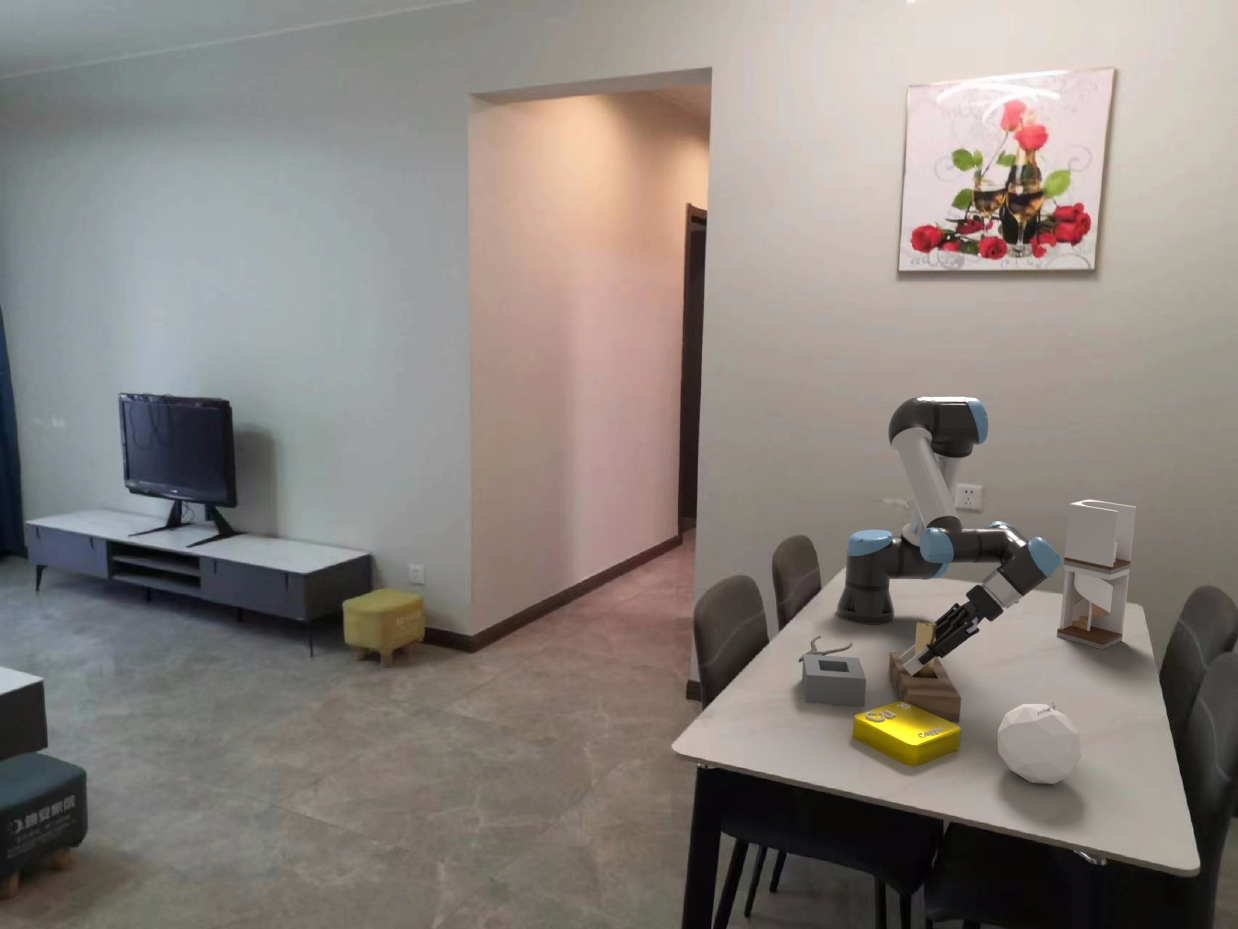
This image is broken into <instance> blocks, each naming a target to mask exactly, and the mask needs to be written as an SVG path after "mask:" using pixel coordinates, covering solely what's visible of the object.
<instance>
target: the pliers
mask: <svg viewBox="0 0 1238 929" xmlns="http://www.w3.org/2000/svg"><path fill="white" fill-rule="evenodd" d="M821 638H822V635H818V636H815V637H813V639H812V640H811V641H810V645H811V646H810V647H811V650H810V651H807V652H805V654H809V655H824V656H827V655H829V654H832V653H833V654H834V653H838V652H843V651H846V650H848V649H850V648H851V647H852V646H853V642H849V644H848V645H847V646H844V647H842V648H841V647H840V648H835V649H829V650H824V651H823V650H822V651H818V649H817V647H816V644H815V642H816V640H818V639H821ZM798 661H799V662H803V654H802V655H801V656H800V657H799V659H798Z"/></svg>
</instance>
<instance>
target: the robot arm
mask: <svg viewBox="0 0 1238 929" xmlns="http://www.w3.org/2000/svg"><path fill="white" fill-rule="evenodd" d="M887 432H888V433H887V434H888V441H889V444H890V447H891V450H892V451H893V453H894V454H896V455H898V457H899V459H900V462H901V465H902V467H903V470H904V473H905V476H906V479H907V482H908V485H909V487H910V490H911V493H912V495H913V499H914V501H915V502H914V506H913V510H912V514H911V516H910V517H911V518H910V521H909V523H907V524H904V526H903V527H902V528H901V534H900V535H899V536H898V535H894V534H893V533H892V532H891V531H889V530H885V529H867V530H866V529H865V530H859V531H856V532H854V533H852V534H850V536H849V537H848V538H847V539H848V540H847V546H846V547H847V548H846V551H845V553H846V561H845V562H846V563H845V579H844V580H845V581H844V582H845V583H844V588H843V591H842V593H841V596H840V598H839V599H838V603H837V605H836V614H837V616H838V617H840V618H842V619H844V620H847V621H850V622H854V623H859V624H866V625H881V624H888V623H890V622H893V620H894V619H895V608H894V604H893V600H892V596H891V593H890V582H891V580H923V581H924V580H925V581H927V580H933V579H940V578H942V577H943V576H944V575H945V574H946V573H947V571H948V570H949V567H950V564H957V563H959V564H964V563H966V564H967V563H968V564H969V563H971V564H972V563H973V564H1000V565H999V566H998V567H997V568H995V569H994V570H993V571H991V572H989V574H988V575H986V576H985V577H984V578H983V579H981V584H975V586H973V587H972V588H971V589H970V590H968V591H967V592H966V594H965V596H966V598H967V600H968V601H967V602H966V603H963V604H962V605H960V604H959V603H958V602H956V603H954V604H953V605H952V606H951V607H950V609H948V610H947V611H946V612H945V613H944V614H942V615H941V616H940V617H939V618H938V619H936V620H935V621H934V622H933V623H935V624H937V629H936V641H935V642H934V643H933V644H932V645H931V646H930V645H929V644H927V645H926V647H925V648H924V649H922V650H921V651H920V652H919V653H917V654H916V655H915V644H913V645H912V646H911V647H909V648H908V649H907V650H906V651H905V652H904V653H903V654H902V655H901V656H900V657H899V659H900V660H901V661H902V662H903V663H904V665H903V667H904V668H905V669H906V670H907V671H908V672H909V673H910V674H911V676H912V675H914V674H915V673H916V672H917V671H919V670H920V669H921V668H922V667H924V666H925V665H926V664H927V663H929V662H930V661H931V660H933V659H934V658H935V657H937V658H940V659H943V658H944V657H946V656H947V655H949V654H950V653H951V652H953V651H954V650H956V648H958V647H960V645H962V644H963V643H965V641H967V640H969V639H970V638H972V636H974V635H976V634H978V633H979V632H980V630H981V629H980V628H979V627H978V625H979V624H980V623H981V622H982V620H983V619H986V620H987V621H988V622H993V621H995V620H996V619H997V618H999V617H1000V616H1001V615H1002V614H1003V613H1004V611H1005V610H1003V609H1004V608H1005V609H1007V610H1008V609H1009V608H1010V607H1012V606H1013V605H1014V604H1018V603H1020V599H1022V598H1023V597H1024V596H1026V595H1027V594H1028V593H1030V592H1031V591H1032V590H1034V589H1035V588H1037V586H1039V585H1040V584H1041V583H1043V582H1044V581H1045V580H1047V579H1048V578H1049V577H1052V575H1053V574H1054V573H1055V572H1056V571H1058V569H1060V567H1061V566H1062V565H1063V564H1064V559H1063V558H1062V556H1061V555H1060V554H1059V553H1058V552H1057V551H1056V550H1055V549H1054V548H1053V547H1052V545H1051V544H1049V543H1048V542H1047V541H1046V539H1044V538H1042V537H1040V536H1036V537H1034V538H1032V539H1030V540H1028V539H1027V538H1026V537H1025V536H1024V535H1022V533H1020V532H1019V531H1018V529H1016V528H1015V527H1013V526H1012V525H1010V524H1009V523H1007V522H1005V521H1000V520H999V521H998V520H997V521H993V522H990V523H988V524H986V525H985V526H984V527H979V528H978V527H973V528H972V527H966V528H965V527H963V524H962V522H961V521H960V518H959V515H958V512H957V509H956V506H955V505H954V503H953V497H954V493H955V489H956V486H957V482H958V479H959V475H960V472H961V469H962V464H963V460H964V459H967V458H969V457H970V456H971V455H972V453H973V449H974V446H975V445H976V446H978V445H981V444H983V443H985V442H986V440H987V439H988V434H989V418H988V414H987V409H986V407H985V406H984V404H983V402H982V401H981V400H980V399H978V398H975V397H965V396H962V395H961V396H925V395H924V396H923V395H922V396H914V397H912V398H910V399H907V400H905V401H903V402H902V403H901V404H900V405H899V406H898V407H897V408H896V410H894V412H893V414H892V416H891V419H890V421H889V425H888V431H887ZM893 535H894V536H893Z"/></svg>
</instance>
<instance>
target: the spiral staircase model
mask: <svg viewBox="0 0 1238 929" xmlns="http://www.w3.org/2000/svg"><path fill="white" fill-rule="evenodd" d="M1136 513H1137V506H1134V505H1126V504H1121V503H1120V504H1119V503H1115V502H1107V501H1101V500H1097V499H1086V500H1084V499H1083V500H1081V501H1075V502H1072V503H1069V508H1068V518H1067V528H1066V538H1065V546H1064V547H1065V549H1064V556H1063V557H1064V558H1063V568H1062V570H1063V571H1064V580H1063V589H1062V591H1063V592H1062V603H1061V609H1060V610H1061V612H1060V624H1059V628H1057V631H1056V637H1058V638H1060V637H1062V638H1061V639H1063V640H1067V641H1071V640H1072V642H1074V641H1075V642H1076V643H1078V644H1081V643H1084V644H1083V645H1085V644H1086V646H1089V647H1093V648H1095V647H1097V649H1099V648H1100V650H1102V649H1103V650H1105V649H1107V648H1109V647H1111V645H1112V646H1114V645H1115V644H1114V643H1116V644H1118V643H1120V641H1121V640H1122V641H1123V634H1124V633H1123V632H1124V625H1125V615H1126V607H1127V606H1126V605H1127V595H1128V588H1129V579H1130V569H1131V561H1132V552H1133V551H1132V550H1133V541H1134V533H1135V522H1136V516H1137V514H1136ZM1122 641H1121V642H1122ZM1075 642H1074V643H1075ZM1113 644H1114V645H1113ZM1106 647H1107V648H1106ZM1104 648H1105V649H1104Z"/></svg>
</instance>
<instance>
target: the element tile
mask: <svg viewBox="0 0 1238 929" xmlns="http://www.w3.org/2000/svg"><path fill="white" fill-rule="evenodd" d="M852 721H853V723H852V737H853V738H854V739H855V740H857V741H858V742H860V743H862V744H864V745H866V746H868V747H870V748H871V749H873V750H876V751H877V752H879V753H882V754H883V755H885V756H887V757H889V758H891V759H893V760H895V761H896V762H898V763H900V764H903V765H905V766H908V767H917V766H921V765H924V764H926V763H929V762H931V761H934V760H936V759H939V758H942V757H944V756H946V755H947V756H948V755H949V754H952V753H955V752H956V751H959V749H960V746H961V744H960V743H961V733H962V732H961V731H962V728H961V727H960V726H959V725H958V724H956V723H954V722H952V721H947V720H945V719H942V718H940V717H938V716H936V715H933V714H931V713H929V712H927V711H924V710H922V709H920V708H918V707H915V706H913V705H911V704H909V703H906V702H903V701H900V700H899V701H894V702H891V703H888V704H885V705H881V706H878V707H875V708H872V709H869V710H866V711H863V712H859V713H857V714H854V715H853V720H852Z"/></svg>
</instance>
